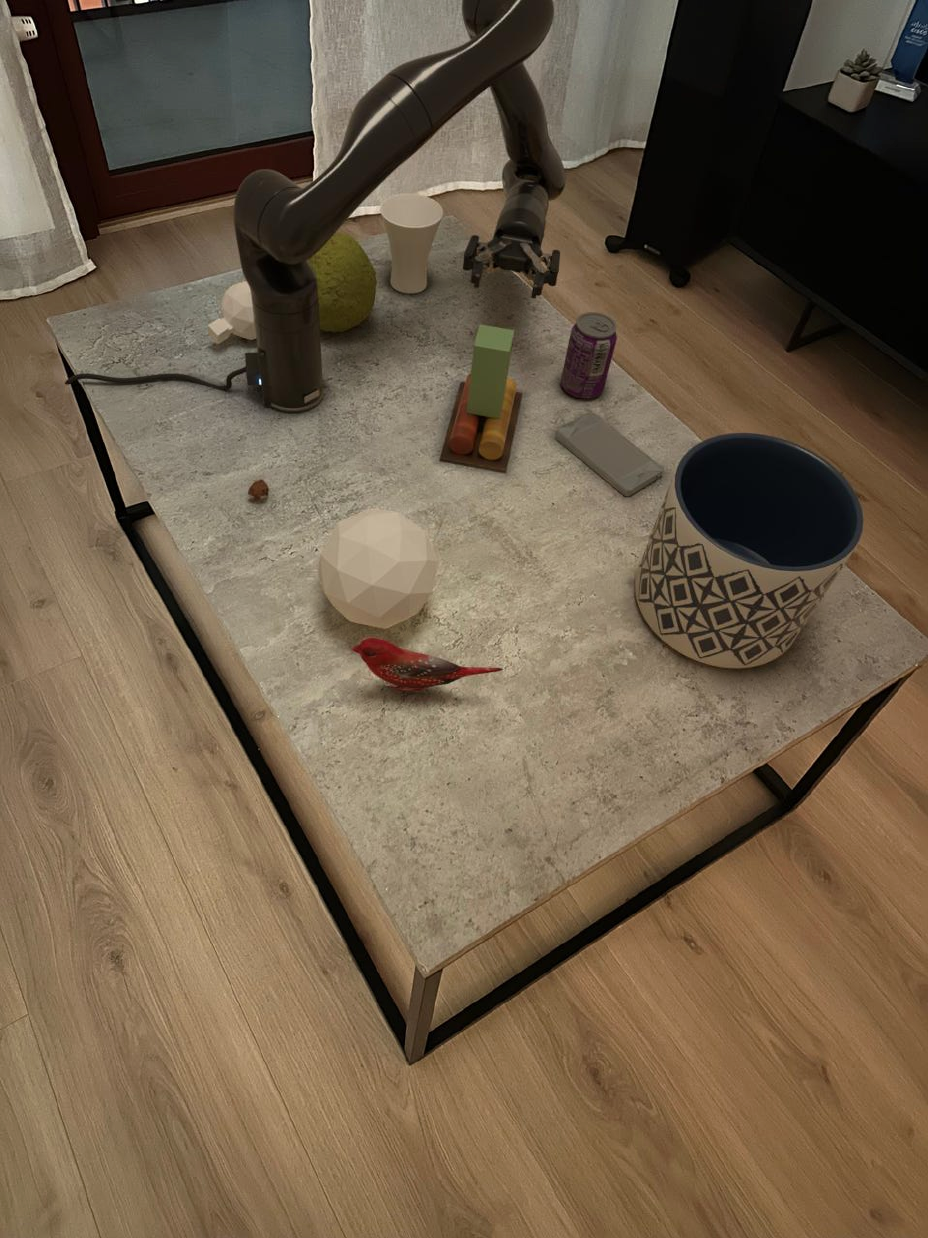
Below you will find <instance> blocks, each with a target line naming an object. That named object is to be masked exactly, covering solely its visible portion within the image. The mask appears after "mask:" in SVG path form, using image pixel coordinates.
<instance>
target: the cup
mask: <svg viewBox="0 0 928 1238" xmlns="http://www.w3.org/2000/svg"><path fill="white" fill-rule="evenodd" d="M379 212H380V215H381V219H382V221H383V226H384V228H385V232H386V235H387V238H388V242H389V243H388V244H389V249H390V257H391V274H390V285H391V287H392V288H393V289H394V290H396V291H397V292H400V293H403V294H418V293H420V292H422V291H424V290H425V289H426V288H427V286H428V271H427V270H428V261H429V257H430V253H431V248H432V245H433V242H434V240H435V237H436V234H437V232H438V230H439V227H440V224H441V223H442V220H443V217H444V210H443V207H442V205H440V203H439V202H437V200H434V199H433V198H431V197H428V196H426V195H421V194H418V193H399V194H394V195H391V196H389V197H387V198H386V199H384V200H383V201H382V203H381V204H380V206H379Z"/></svg>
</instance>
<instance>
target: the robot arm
mask: <svg viewBox="0 0 928 1238" xmlns="http://www.w3.org/2000/svg"><path fill="white" fill-rule="evenodd" d="M461 14H462V20H463V24H464V27H465V30H466V33H467V35H468V37H469V41H467V42H465V43H463V44H461V45H459V46H456V47H454V48H451V49H447V50H443V51H441V52H440V51H439V52H437V53H433V54H429V55H425V56H421V57H418V58H414V59H412V60H409V61H406V62H404V63H402V64H400V65H398V66H396V67H394V68H393V69H391V70H390V71H389V72H387V74H385V75H384V76H383V77H382V78H381V79H379V81H378V82H376V83H375V84H374V85H373V86H372V87H371V88H370V89H368V91H367V92H366V93H365V94H364V95H363V96H361V98H360V99H359V100H358V101H357V103H356V105H355V107H354V108H353V110H352V113H351V115H350V118H349V120H348V124H347V127H346V130H345V134H344V137H343V140H342V144H341V147H340V150H339V152H338V154H337V156H336V157H335V158H334V160H333V161H332V162H331V164H330V165H329V166H328V167H327V168H326V169H325V170H324V171H323V172H322V173H320V175H318V177H316V178H315V179H314V180H313V181H311V182H310V183H309V184H308V185H307V186H304V187H301V186H300V185H298V184H296V183H295V182H294V181H292V180H291V179H290V178H288V177H287V176H285V175H284V174H282V173H280V172H279V171H276V170H273V169H266V168H265V169H262V168H261V169H257V170H255V171H253V172H252V173H249V174H248V175H247V176H246V177H245V178H244V179H243V181H241V183H240V185H239V187H238V189H237V191H236V195H235V198H234V203H233V227H234V232H235V239H236V244H237V251H238V255H239V256H238V257H239V262H240V267H241V271H242V275H243V277H244V279H245V281H247V283H248V285H249V287H250V291H251V297H252V306H253V315H254V323H255V332H256V339H255V340H256V350H257V351H256V352H245V353H244V361H245V366H244V367H241V368H238V369H236V370H234V371H232V372H230V373H229V374H228V375H227V376H226V378H225V383H226V384H223V385H218V384H213V383H210V382H208V381H205V380H203V379H201V378H198V377H195V376H192V375H189V374H184V373H158V374H151V375H144V376H135V377H116V376H115V377H114V376H108V375H102V374H97V373H96V374H95V373H78V374H74V375H71V376H70V377H69V378H67V379H66V380H65V382H64V385H67V386H68V385H69V386H70V385H71V384H73V383H74V382H76V381H79V380H95V381H101V382H107V383H112V384H113V383H114V384H136V383H145V382H151V381H159V380H173V379H174V380H183V381H189V382H192V383H194V384H197V385H201V386H205V387H209V388H212V389H215V390H219V391H221V392H222V391H223V392H224V391H229V390H230V389H231V388H233V387H232V385H233V383H232V380H233V379H235V377H237V376H240V375H243V374H245V376H246V383H247V386H260V387H261V395H262V402H263V404H262V405H263V407H264V408H273V410H274V409H275V410H277V411H280V412H283V413H284V412H285V413H301V412H305V411H309V410H312V409H313V408H315V407H316V406H318V405H319V404H320V403H321V401H322V400H323V398H324V395H325V388H324V379H323V362H322V361H323V360H322V358H323V357H322V341H321V340H322V339H321V329H320V318H319V299H318V282H317V278H316V275H315V273H314V271H313V269H312V268H311V266H310V265H309V263H308V262H307V260H308V259H310V258H311V257H312V256H314V255H315V254H316V253H317V252H318V251H319V250H320V249H321V248H322V247H323V246H324V245H325V244H326V243H327V242H328V241H329V239H330V238H331V237H332V236H333V235H334V234H335V233H338V231H339V230H340V229H341V227H342V226H343V225H344V224H345V222H347V220H348V219H349V218H350V217H351V216H352V214H353V213H354V212H356V210H357V208H359V207H360V205H361V204H363V202H364V201H365V200H366V199H368V197H369V196H370V195H371V194H373V193H374V192H375V191H376V190H377V188H379V187H380V186H381V185H382V184H383V183H384V182H385V181H386V180H387V179H388V178H389V177H390V176H391V175H392V174H393V173H395V171H396V170H397V169H398V168H399V167H401V166H402V165H403V164H404V163H405V162H406V161H407V160H409V159H410V158H411V157H413V155H415V154H416V153H417V152H418V151H419V150H420V149H421V148H423V146H424V145H425V144H427V143H428V142H429V141H430V140H432V138H433V137H434V136H435V135H436V134H437V133H438V132H439V131H440V130H441V129H442V128H443V127H444V126H445V125H446V124H447V123H448V122H449V121H451V120H452V119H453V118H454V117H455V116H456V115H458V114H459V112H461V111H462V110H463V109H464V108H466V107H467V106H468V105H469V104H470V103H471V102H473V100H475V99H476V98H478V97H479V96H480V95H481V94H482V93H484V92H485V91H486V90H488V89H490V93H491V95H492V98H493V101H494V104H495V108H496V111H497V115H498V120H499V124H500V130H501V133H502V138H503V139H502V140H503V143H504V148H505V152H506V155H507V156H508V157H509V160H507V161H506V162H505V164H504V166H503V168H502V172H501V184H502V189H503V194H504V196H505V200H504V204H503V207H502V209H501V210H500V213H499V215H498V219H497V222H496V226H495V229H494V233H493V236H492V239H490V240H489V241H488V242H485V241H480V236H479V235H478V234H477V235H476V234H472V235H471V237H470V239H469V241H468V243H467V245H466V247H465V250H464V253H463V261H462V270H464V271H466V272H468V271H471V273H470V284H472V285H473V288H474V289H479V288H480V285H481V282H482V277H483V275H484V274H485V273H488V274H492V273H494V272H496V271H498V270H502V271H511V272H514V273H518V274H521V273H522V274H523V276H524V277H526V279H527V280H528V281H532V282H533V283H532V290H531V296H530V299H533V300H535V299H537V296H538V297H541V296H542V294H543V288H544V285H546V284H548V286H550V287H556V286H557V282H558V275H559V271H560V261H561V251H560V250H558V249H553V250H552V251H551V253H547V252H543V250H542V244H543V240H544V237H545V231H546V225H547V224H546V223H547V220H546V219H547V215H548V210H549V206H550V205H549V203H550V202H551V201H556V200H557V199H558V198H559V197H560V196H561V195H562V194H563V192H564V189H565V188H566V187H565V186H566V181H567V180H566V171H565V170H566V169H565V166H564V163H563V161H562V159H561V156H560V154H559V153H558V151H557V149H556V148H555V146H554V144H553V142H552V141H551V138H550V136H549V130H548V123H547V116H546V111H545V105H544V103H543V100H542V98H541V95H540V93H539V90H538V88H537V86H536V84H535V82H534V80H533V78H532V77H531V75H530V73H529V71H528V70H527V67H526V65H525V64H524V62H525V61H526V60H528V59H529V58H530V57H531V56H532V55H533V54H535V52H536V51H537V50H538V49H539V48H540V46H541V45H542V44H543V42H544V41H545V39H546V38H547V36H548V34H549V32H550V30H551V27H552V24H553V21H554V18H555V17H554V16H555V5H554V0H462V1H461ZM542 263H544V265H545V266H544V265H543V264H542Z"/></svg>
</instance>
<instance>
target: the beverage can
mask: <svg viewBox="0 0 928 1238" xmlns="http://www.w3.org/2000/svg"><path fill="white" fill-rule="evenodd" d="M617 327H618V326H617V324H616V321H615V320H614V319H613V318H612V317H610V316H609V315H607V314H605V313H602V312H598V311H597V312H596V311H587V312H583V313H582V314H580V315H579V316H577V318H576V322H575V324H573V325H572V328H571V330H570V335H569V339H568V343H567V349H566V353H565V358H564V363H563V367H562V368H563V369H562V373H561V377H560V385H561V387H562V388H563V390H564V391H565V392H567V394H569V395H571V396H573V397H576V398H579V399H580V398H581V399H592V398H595V397H598V396H599V395H601V394H602V393H603V392H604V390H605V386H606V381H607V379H608V374H609V371H610V367H611V363H612V359H613V357H614V356H613V355H614V353H615V348H616V344H617V339H618V334H617Z"/></svg>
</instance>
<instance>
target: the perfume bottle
mask: <svg viewBox="0 0 928 1238" xmlns="http://www.w3.org/2000/svg"><path fill="white" fill-rule="evenodd" d="M207 334H208V336H209V337H210V338H211V339H212V340H213V341H214V342H215V343H216V344H217V345H219V344H221V343H222V342H224V341H225V340H227V339H229V338H230V335H231V334H233V335H234V336H236V337H240V338H244V339H246V340H250V341H253V340H256V332H255V323H254V315H253V306H252V297H251V291H250V287H249V285H248V283H247V281H246V280H243V281H241V282H238V283H235V284H232V285H230V286H229V287H228V289H227V290H225V292H224V293H223V296H222V298H221V318H220V317H219V318H217V319H215V320H214V321H212V322H211V323H209V324H207Z"/></svg>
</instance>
